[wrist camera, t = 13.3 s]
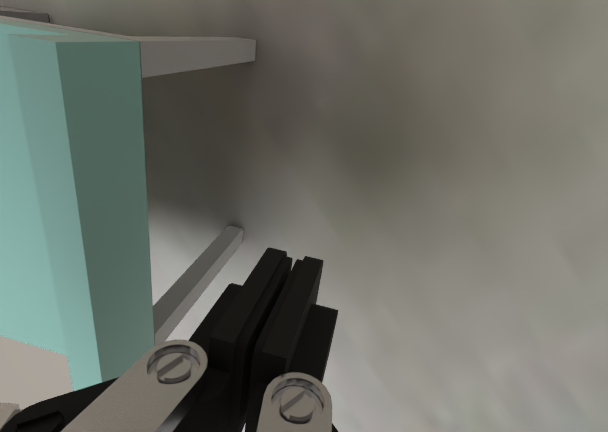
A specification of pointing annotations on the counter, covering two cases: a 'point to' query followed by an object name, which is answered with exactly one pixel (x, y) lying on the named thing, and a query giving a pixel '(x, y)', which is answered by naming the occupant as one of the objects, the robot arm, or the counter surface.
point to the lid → (74, 199)
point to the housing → (159, 61)
